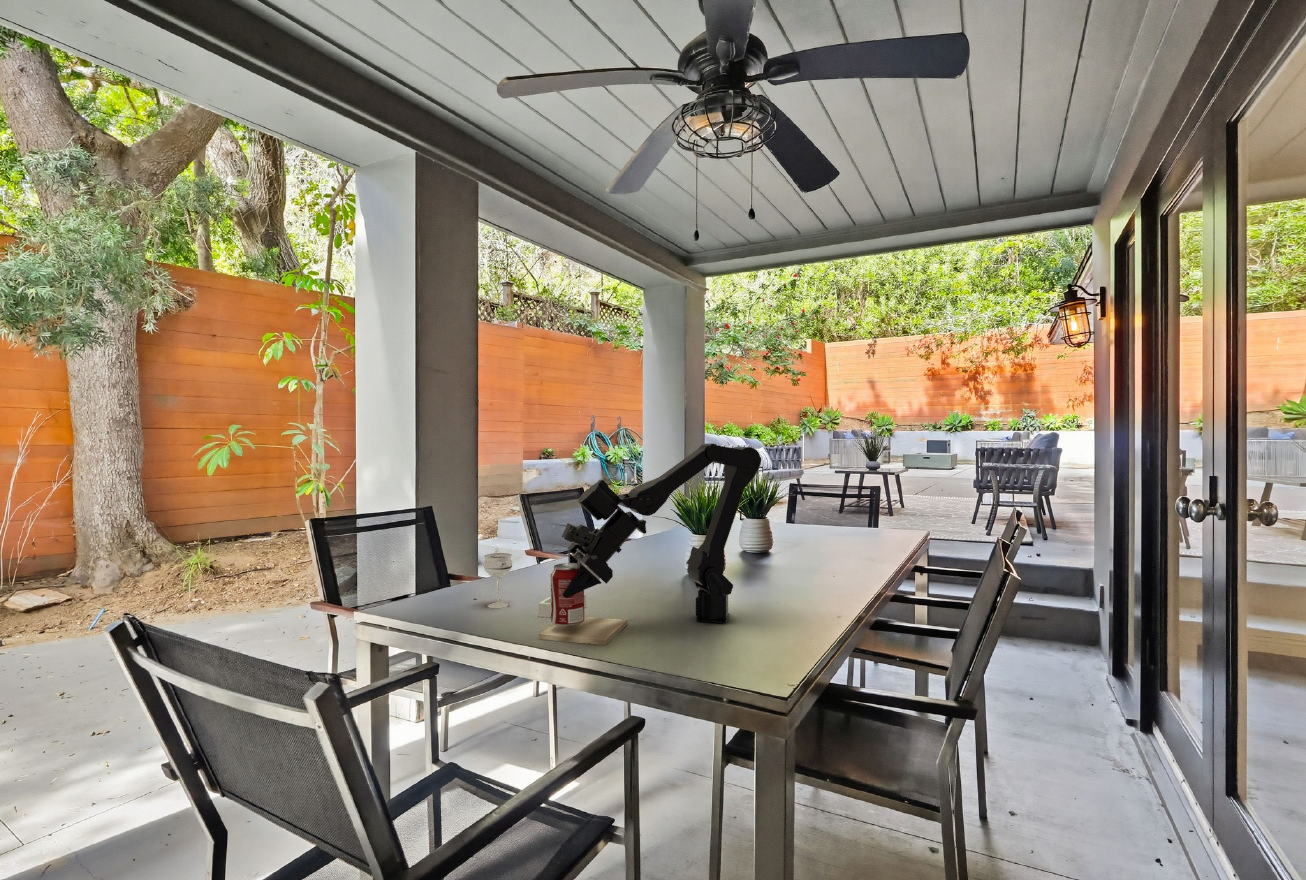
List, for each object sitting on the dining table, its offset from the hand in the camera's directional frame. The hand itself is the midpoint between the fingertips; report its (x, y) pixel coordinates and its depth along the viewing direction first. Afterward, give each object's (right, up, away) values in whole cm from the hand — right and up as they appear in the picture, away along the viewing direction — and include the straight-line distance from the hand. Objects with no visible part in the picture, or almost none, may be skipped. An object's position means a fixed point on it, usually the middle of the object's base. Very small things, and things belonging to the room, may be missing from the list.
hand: (560, 592), depth 129 cm
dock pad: (+5, -9, +2) cm, 10 cm away
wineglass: (-18, -9, +23) cm, 31 cm away
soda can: (+1, -7, 0) cm, 7 cm away
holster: (-2, -9, +17) cm, 19 cm away
